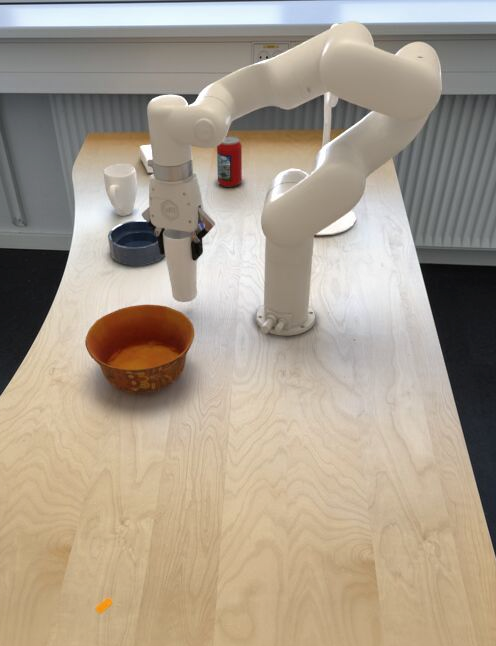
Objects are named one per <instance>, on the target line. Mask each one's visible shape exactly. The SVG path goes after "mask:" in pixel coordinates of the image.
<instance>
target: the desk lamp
mask: <svg viewBox="0 0 496 646" xmlns="http://www.w3.org/2000/svg"><path fill="white" fill-rule="evenodd" d="M339 24H340V23H338V22H336V23H333V24H332V25H331V27H330V28H329V29H331V28H333V27H335V26H337V25H339ZM339 99H340V98H338V97H336V96H335V95H333V94H331V93H330V92H326V93H324V94H323V132H322V145H321V146H322V147H321V149H322V148H323V147H324V146H325V145H327V144H328V143H329V142H331V128H332V108H335V107H336V106H337V104H338V102H339ZM356 221H357V217H356V214H355V212H354V211H353V209H352V210H351V211H350V212H349V213H347V214H346V215H345V216H343V217H342V218H340V219H339V220H337V221H336V222H334V223H333V224H331V225H329V226H328V227H326V228H325V229H323V230H322V231H320V232H319V233H317V234H316V235H315V236H331V235H336V234H340V233H343V232H346V231H348V230H349V229H351V228H352V227H354V225H355V223H356Z"/></svg>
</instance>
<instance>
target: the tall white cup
mask: <svg viewBox="0 0 496 646" xmlns="http://www.w3.org/2000/svg"><path fill="white" fill-rule="evenodd" d="M192 242H193V239H192V237H191V235H190V233H189V232H183V231H177V230H171V229H165V230H164V232H163V243H164V252H165V256H164V257H165V261H166V266H167V267H166V268H167V271H168V276H169V281H170V287H171V293H172V298H173V299H174V300H175V301H177V302H179V303H189V302H192V301H193V300H195V299H196V298H197V295H198V288H197V283H198V282H197V280H198V279H197V277H198V259H197V260H196V261H194V260H193V259H192V249H191V243H192Z"/></svg>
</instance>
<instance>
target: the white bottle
mask: <svg viewBox="0 0 496 646" xmlns="http://www.w3.org/2000/svg"><path fill="white" fill-rule="evenodd" d="M139 157H140V158H139V159H140V160H141V161H142V164H143V165H144V168H145V170H146V172H147V173H148V174H153V168H152V167H150V166H148V164H147V162H148V159H152V151H151V143H150V144H142V145H140V146H139Z"/></svg>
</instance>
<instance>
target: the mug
mask: <svg viewBox="0 0 496 646" xmlns="http://www.w3.org/2000/svg"><path fill="white" fill-rule="evenodd" d="M103 179H104V186H105V193H106V195H107V198H108V200H109V202H110V204H111V206H112V207H113V209H114V211H115V213H116V214H117V215H118V216H123V217H125V216H129V215H131V214H132V213H133V211H134V207H135V203H136V199H137V196H138V195H137V194H138V179H137V171H136V168H135V166H133V164H129V163H114V164H111V165H109V166H107V167H106V168H105V169H104V170H103Z"/></svg>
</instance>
